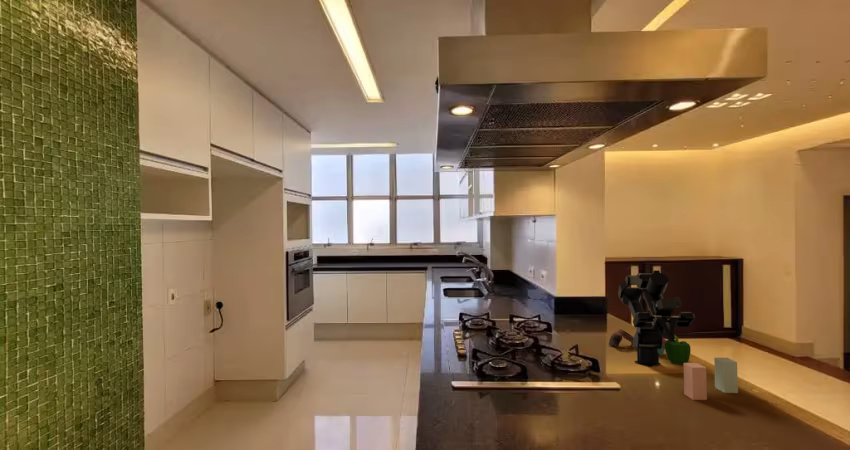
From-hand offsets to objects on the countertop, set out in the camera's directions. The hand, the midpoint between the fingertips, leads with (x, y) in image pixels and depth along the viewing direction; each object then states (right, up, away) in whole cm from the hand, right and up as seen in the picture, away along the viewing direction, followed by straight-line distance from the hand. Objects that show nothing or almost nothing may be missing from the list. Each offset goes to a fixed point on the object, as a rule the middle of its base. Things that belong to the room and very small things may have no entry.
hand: (672, 341), depth 139 cm
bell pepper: (+14, -14, +21) cm, 29 cm away
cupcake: (+13, -14, +32) cm, 38 cm away
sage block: (+12, -13, -7) cm, 19 cm away
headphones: (+3, -15, +44) cm, 46 cm away
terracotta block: (-1, -13, -12) cm, 18 cm away
